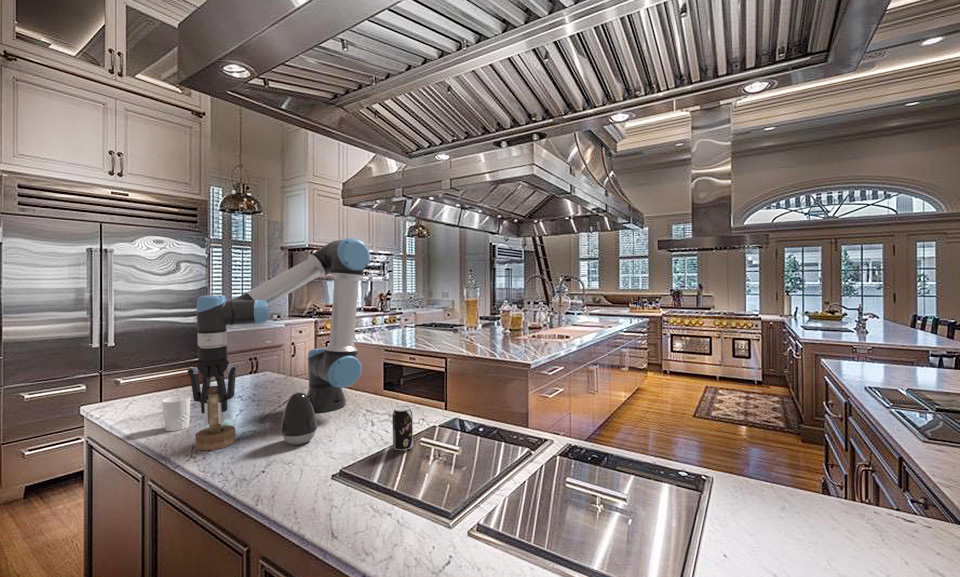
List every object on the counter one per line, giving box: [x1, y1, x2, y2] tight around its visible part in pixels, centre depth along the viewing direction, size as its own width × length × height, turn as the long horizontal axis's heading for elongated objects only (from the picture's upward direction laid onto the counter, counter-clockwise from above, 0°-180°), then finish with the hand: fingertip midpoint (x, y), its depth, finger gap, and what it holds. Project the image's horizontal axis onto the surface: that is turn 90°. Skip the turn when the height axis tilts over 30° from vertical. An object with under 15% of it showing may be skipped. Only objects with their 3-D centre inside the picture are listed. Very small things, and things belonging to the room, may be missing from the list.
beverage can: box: [391, 405, 414, 451], centre depth 125 cm, size 6×6×12 cm
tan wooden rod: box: [207, 385, 221, 434], centre depth 130 cm, size 3×3×16 cm
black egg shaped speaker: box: [280, 391, 318, 446], centre depth 131 cm, size 10×10×15 cm
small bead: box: [221, 418, 234, 426], centre depth 141 cm, size 6×6×4 cm
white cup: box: [161, 395, 191, 432], centre depth 146 cm, size 8×8×10 cm
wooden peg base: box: [194, 425, 236, 451], centre depth 131 cm, size 10×10×4 cm
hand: (214, 422), depth 130 cm, fingers closed on tan wooden rod, 3 cm apart
